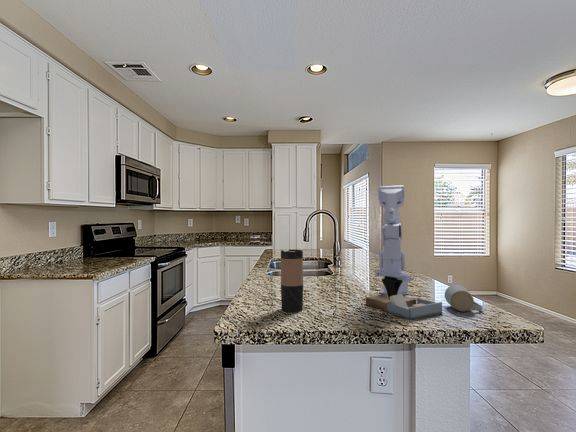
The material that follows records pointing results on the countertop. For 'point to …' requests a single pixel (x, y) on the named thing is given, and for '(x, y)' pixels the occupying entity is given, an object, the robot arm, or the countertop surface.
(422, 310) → the tray
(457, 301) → the ceramic mug
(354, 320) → the countertop surface
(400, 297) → the cream tile
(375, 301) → the walnut board
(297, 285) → the travel mug
